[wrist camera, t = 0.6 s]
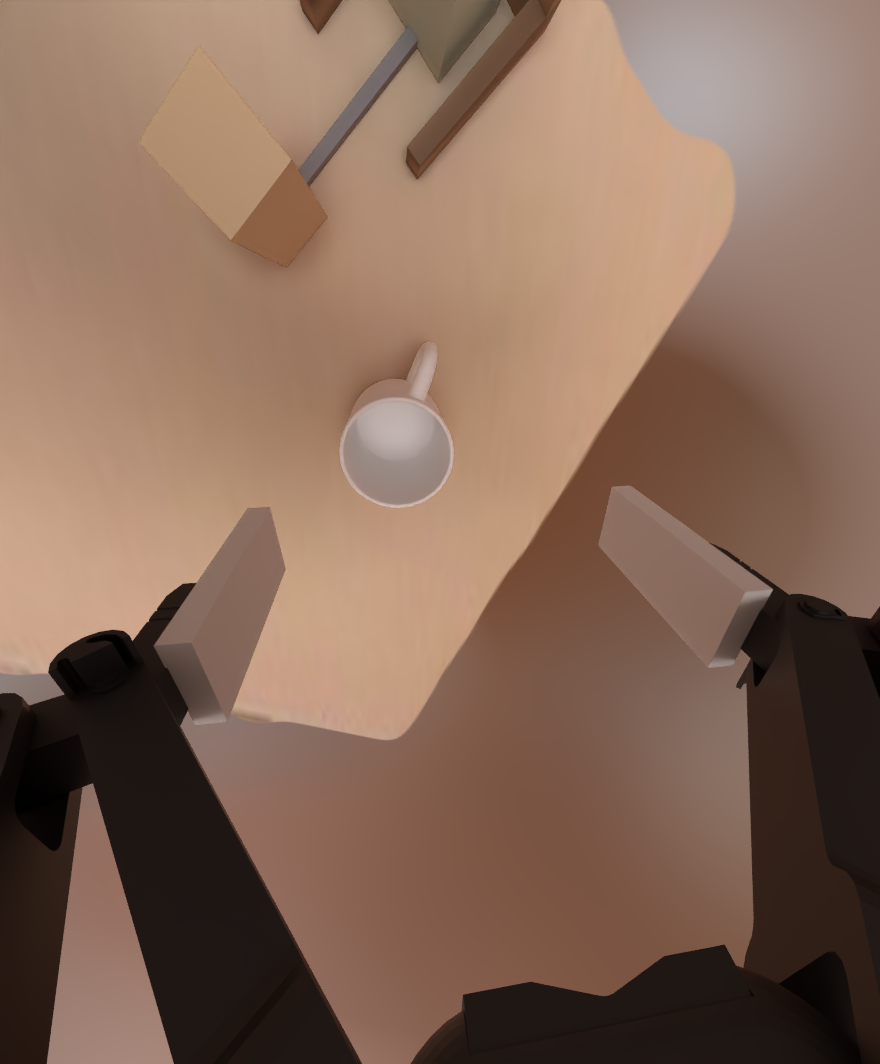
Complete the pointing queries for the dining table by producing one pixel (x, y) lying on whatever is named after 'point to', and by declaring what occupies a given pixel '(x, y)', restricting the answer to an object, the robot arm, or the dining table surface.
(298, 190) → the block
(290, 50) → the dining table surface
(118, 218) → the dining table surface
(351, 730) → the dining table surface
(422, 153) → the lane
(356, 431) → the cup
